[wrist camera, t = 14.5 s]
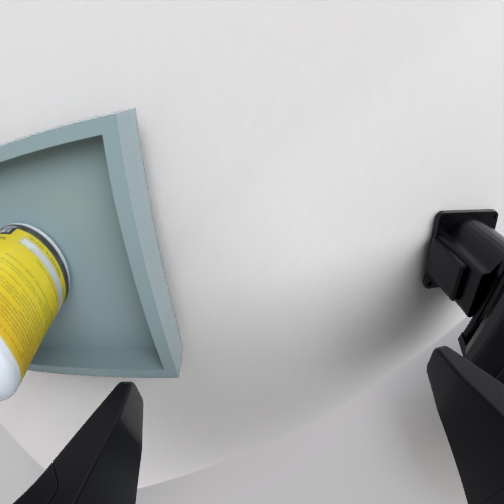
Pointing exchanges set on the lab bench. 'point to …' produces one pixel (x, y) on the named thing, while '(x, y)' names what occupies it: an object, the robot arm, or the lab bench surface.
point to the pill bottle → (27, 298)
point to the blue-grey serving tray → (96, 247)
